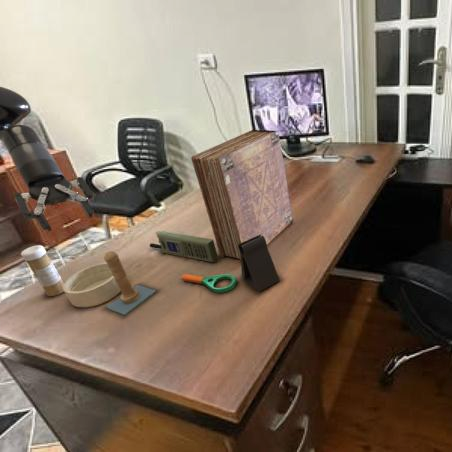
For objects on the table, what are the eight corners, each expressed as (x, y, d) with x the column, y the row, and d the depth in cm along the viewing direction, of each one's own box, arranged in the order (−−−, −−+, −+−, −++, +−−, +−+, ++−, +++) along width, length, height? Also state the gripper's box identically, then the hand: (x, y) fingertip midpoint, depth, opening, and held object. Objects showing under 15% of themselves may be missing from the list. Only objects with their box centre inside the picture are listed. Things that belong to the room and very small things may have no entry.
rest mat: (125, 315, 82) (124, 314, 82) (106, 308, 85) (105, 307, 85) (156, 291, 89) (156, 290, 89) (138, 285, 92) (137, 284, 92)
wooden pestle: (129, 305, 85) (106, 258, 78) (119, 301, 86) (95, 255, 79) (143, 295, 88) (122, 249, 81) (133, 291, 89) (111, 246, 82)
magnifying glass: (241, 279, 90) (239, 274, 89) (228, 294, 85) (226, 289, 84) (192, 273, 95) (190, 268, 94) (177, 287, 90) (175, 282, 89)
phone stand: (280, 281, 88) (271, 241, 82) (259, 293, 85) (248, 252, 79) (262, 267, 94) (253, 228, 88) (242, 277, 91) (231, 238, 85)
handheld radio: (212, 264, 98) (147, 251, 107) (220, 258, 100) (156, 246, 110) (207, 243, 95) (140, 232, 104) (215, 237, 97) (149, 227, 106)
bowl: (91, 314, 84) (82, 298, 81) (61, 301, 89) (52, 286, 87) (136, 282, 93) (129, 267, 91) (107, 273, 99) (100, 258, 96)
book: (246, 263, 96) (218, 159, 82) (220, 257, 100) (189, 157, 85) (293, 220, 116) (278, 130, 101) (270, 216, 120) (252, 129, 105)
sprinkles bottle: (49, 289, 94) (23, 248, 88) (68, 283, 96) (44, 242, 89) (45, 299, 91) (17, 256, 84) (65, 293, 92) (40, 250, 86)
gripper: (-4, 166, 77) (32, 228, 76) (70, 151, 86) (104, 206, 85) (2, 183, 82) (36, 240, 82) (71, 167, 92) (102, 218, 91)
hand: (71, 223), depth 83 cm, fingers open, 8 cm apart
